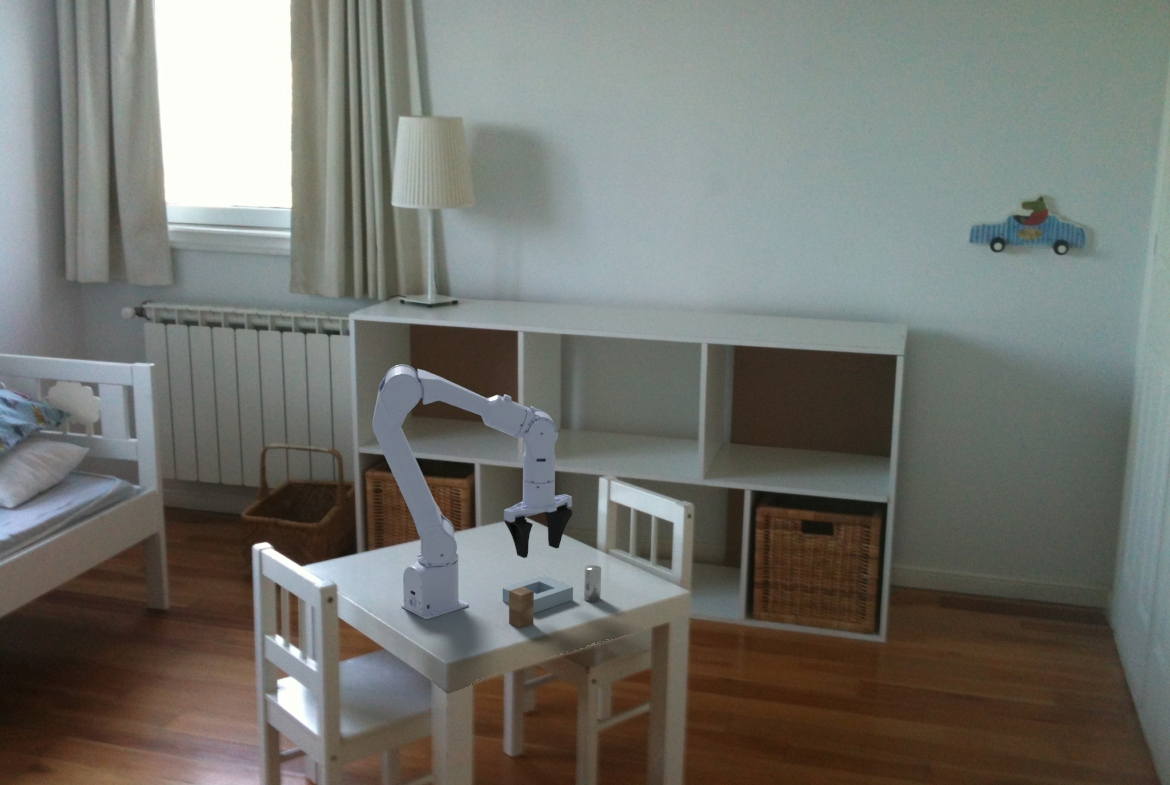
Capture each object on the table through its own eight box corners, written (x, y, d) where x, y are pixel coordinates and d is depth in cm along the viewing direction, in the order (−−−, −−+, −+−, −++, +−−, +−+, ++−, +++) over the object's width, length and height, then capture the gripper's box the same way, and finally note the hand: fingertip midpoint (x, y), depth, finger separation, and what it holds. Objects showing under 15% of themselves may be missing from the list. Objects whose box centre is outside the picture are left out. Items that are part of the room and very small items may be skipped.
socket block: (531, 614, 201) (531, 600, 201) (502, 600, 207) (502, 588, 206) (572, 599, 208) (573, 587, 207) (544, 587, 213) (544, 575, 213)
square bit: (520, 628, 195) (520, 595, 194) (509, 623, 197) (509, 590, 196) (533, 624, 197) (533, 591, 196) (522, 618, 199) (522, 586, 198)
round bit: (591, 603, 206) (592, 572, 205) (580, 598, 208) (581, 567, 207) (603, 599, 208) (604, 568, 207) (592, 594, 210) (593, 564, 209)
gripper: (522, 491, 195) (521, 566, 198) (583, 476, 205) (582, 548, 207) (496, 482, 200) (496, 556, 203) (557, 468, 210) (556, 538, 212)
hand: (538, 551), depth 205 cm, fingers open, 7 cm apart
